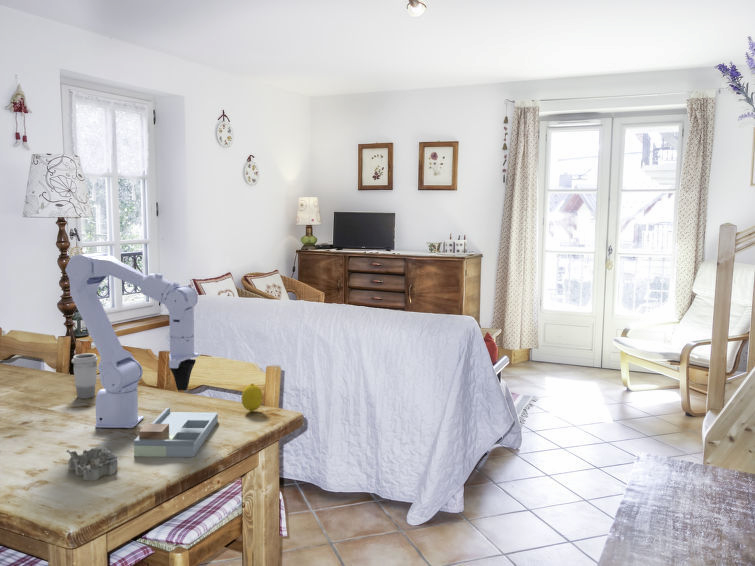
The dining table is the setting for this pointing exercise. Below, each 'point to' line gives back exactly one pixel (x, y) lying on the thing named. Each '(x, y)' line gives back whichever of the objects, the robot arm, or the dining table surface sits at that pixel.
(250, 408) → the lemon
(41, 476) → the dining table surface
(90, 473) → the grey toy castle
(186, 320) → the robot arm
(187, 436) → the trap tray
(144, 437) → the walnut block
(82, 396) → the cup
